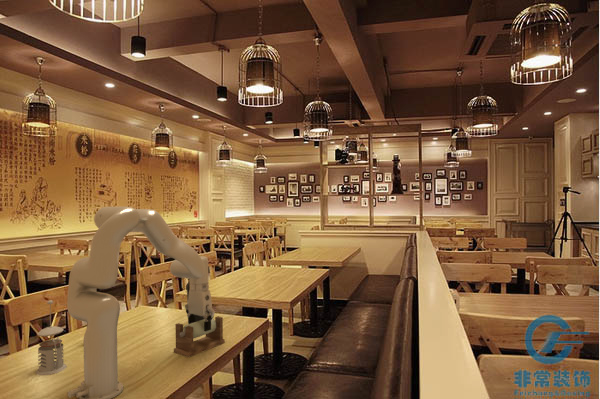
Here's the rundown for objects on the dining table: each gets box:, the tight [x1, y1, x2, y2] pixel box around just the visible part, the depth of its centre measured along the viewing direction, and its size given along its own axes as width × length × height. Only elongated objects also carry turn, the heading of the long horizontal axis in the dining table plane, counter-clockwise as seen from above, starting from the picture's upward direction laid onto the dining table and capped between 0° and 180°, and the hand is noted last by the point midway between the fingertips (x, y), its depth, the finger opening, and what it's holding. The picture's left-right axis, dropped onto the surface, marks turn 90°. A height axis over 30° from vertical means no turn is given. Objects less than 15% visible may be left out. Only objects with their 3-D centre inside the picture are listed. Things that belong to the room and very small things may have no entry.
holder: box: [173, 316, 226, 358], centre depth 169 cm, size 19×9×11 cm, turn 144°
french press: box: [34, 299, 68, 376], centre depth 148 cm, size 10×12×25 cm
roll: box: [180, 317, 216, 340], centre depth 168 cm, size 19×6×6 cm, turn 144°
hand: (199, 328), depth 169 cm, fingers open, 9 cm apart
